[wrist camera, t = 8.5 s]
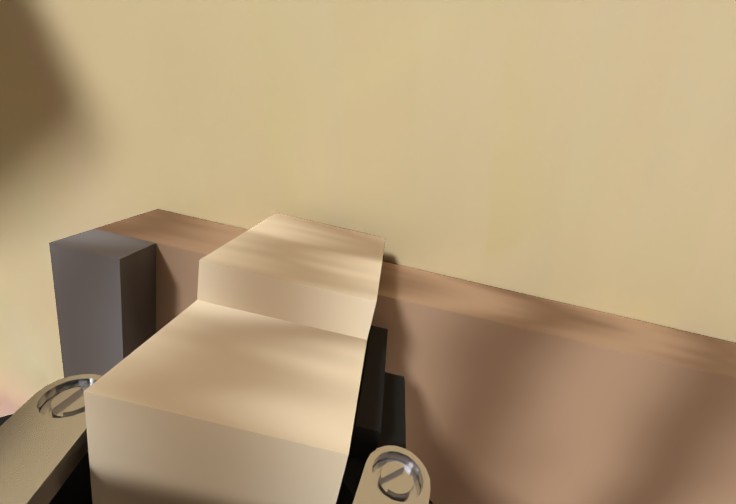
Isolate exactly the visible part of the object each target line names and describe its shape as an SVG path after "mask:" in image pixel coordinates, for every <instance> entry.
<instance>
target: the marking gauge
mask: <svg viewBox="0 0 736 504" xmlns="http://www.w3.org/2000/svg"><path fill="white" fill-rule="evenodd" d="M384 245H385V238H384V237H380V236H375V235H371V234H367V233H362V232H358V231H354V230H349V229H345V228H341V227H336V226H332V225H327V224H323V223H319V222H314V221H310V220H306V219H301V218H297V217H293V216H288V215H284V214H280V213H275V214H273V215H272V216H270V217H269V218H267V219H265V220H264V221H262V222H260V223H259V224H257V225H256V226H254V227H252V228H251V229H249V230H247V231H246V232H244V233H242V234H241V235H239V236H238V237H236V238H234V239H233V240H231V241H229V242H228V243H226V244H225V245H223V246H221V247H220V248H218V249H216V250H215V251H213V252H212V253H210V254H208V255H207V256H205V257H203V258H202V259H200V260H199V273H198V293H197V300H196V301H195V302H194V303H193V304H192V305H190V306H189V307H188V308H187V309H185V310H184V311H183V312H182V313H180V314H179V315H178V316H177V317H175V318H174V319H173V320H172V321H170V322H169V323H168V324H167V325H165V326H164V327H163V328H162V329H160V330H159V331H158V332H157V333H155V334H154V335H153V336H152V337H151V338H149V339H148V340H147V341H146V342H144V343H143V344H142V345H141V346H139V347H138V348H137V349H136V350H134V351H133V352H132V353H131V354H129V355H128V356H127V357H126V358H124V359H123V360H122V361H121V362H119V363H118V364H117V365H116V366H115V367H113V368H112V369H111V370H110V371H108V372H107V373H106V374H105V375H103V376H102V377H101V378H100V379H98V380H97V381H96V382H95V383H93V384H92V385H91V386H90V387H88V388H87V389H86V390H85V391H84V403H85V415H86V428H87V440H88V453H89V466H90V478H91V491H92V503H93V504H336V501H337V498H338V494H339V490H340V486H341V482H342V478H343V474H344V471H345V467H346V463H347V459H348V455H349V449H350V443H351V437H352V431H353V424H354V418H355V412H356V406H357V400H358V393H359V387H360V381H361V375H362V368H363V362H364V356H365V350H366V344H367V338H368V334H369V330H370V326H371V322H372V318H373V314H374V310H375V306H376V302H377V295H378V288H379V281H380V274H381V267H382V260H383V253H384Z"/></svg>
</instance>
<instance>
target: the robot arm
mask: <svg viewBox="0 0 736 504" xmlns="http://www.w3.org/2000/svg"><path fill="white" fill-rule="evenodd" d="M387 334H388V329H385V328H381V327H377V326H373V325H371V327H370V330H369V334H368V338H367V344H366V350H365V356H364V362H363V368H362V375H361V381H360V387H359V393H358V400H357V406H356V412H355V418H354V424H353V431H352V437H351V443H350V449H349V455H348V459H347V463H346V467H345V471H344V474H343V478H342V482H341V486H340V490H339V494H338V498H337V501H336V504H433V503H432V501H431V500H430V499H429V498H430V477H429V475H428V472H427V469H426V468H425V466H424V465H423V463H422V462H421V460H420V459H419V458H418V457H416V456H415V455H414V454H413V453H412V452H410V451H408V450H406V420H405V378H404V376H400V375H396V374H391V373H387V372H385V365H386V349H387ZM101 377H102V376H101V375H96V374H81V375H75V376H69V377H66V378H63V379H60V380H57V381H55V382H53V383H51V384H49V385H47V386H45V387H44V388H43V389H41V390H40V391H38V392H37V393H36V394H35V395H34V396H32V397H31V398H30V399H29V400H28V401H27V402H26V403H25V404H24V405H23V406H22V407H21V408H19V409H18V410H17V411H16V412H15V413H14V414H12V415H8V416H4V417H1V418H0V504H93V503H92V491H91V478H90V466H89V453H88V440H87V428H86V415H85V403H84V391H85V390H86V389H87V388H88V387H90V386H91V385H92V384H93V383H95V382H96V381H97V380H98V379H100V378H101Z"/></svg>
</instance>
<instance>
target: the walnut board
mask: <svg viewBox="0 0 736 504" xmlns="http://www.w3.org/2000/svg"><path fill="white" fill-rule="evenodd" d="M246 231H247V230H246V229H242V228H237V227H233V226H229V225H224V224H220V223H216V222H212V221H207V220H203V219H199V218H194V217H190V216H186V215H181V214H177V213H173V212H168V211H164V210H160V209H156V210H153V211H150V212H147V213H144V214H140V215H137V216H134V217H131V218H128V219H124V220H121V221H118V222H115V223H112V224H108V225H105V226H102V227H99V228H95V229H92V230H89V231H86V232H83V233H79V234H76V235H73V236H70V237H67V238H63V239H60V240H57V241H54V242H51V243H49V244H50V253H51V262H52V271H53V280H54V289H55V298H56V307H57V316H58V325H59V335H60V344H61V353H62V362H63V371H64V378H66V377H69V376H75V375H81V374H96V375H101V376H103V375H105V374H106V373H107V372H108V371H110V370H111V369H112V368H113V367H115V366H116V365H117V364H118V363H119V362H121V361H122V360H123V359H124V358H126V357H127V356H128V355H129V354H131V353H132V352H133V351H134V350H136V349H137V348H138V347H139V346H141V345H142V344H143V343H144V342H146V341H147V340H148V339H149V338H151V337H152V336H153V335H154V334H155V333H157V332H158V331H159V330H160V329H162V328H163V327H164V326H165V325H167V324H168V323H169V322H170V321H172V320H173V319H174V318H175V317H177V316H178V315H179V314H180V313H182V312H183V311H184V310H185V309H187V308H188V307H189V306H190V305H192V304H193V303H194V302H195V301H196V300H197V293H198V273H199V260H200V259H202V258H203V257H205V256H207V255H208V254H210V253H212V252H213V251H215V250H216V249H218V248H220V247H221V246H223V245H225V244H226V243H228V242H229V241H231V240H233V239H234V238H236V237H238V236H239V235H241V234H242V233H244V232H246ZM371 325H373V326H377V327H381V328H385V329H388V334H387V349H386V365H385V372H387V373H391V374H396V375H400V376H404V378H405V420H406V450H408V451H410V452H412V453H413V454H414V455H415V456H416V457H418V458H419V459H420V460H421V462H422V463H423V465H424V466H425V468H426V469H427V472H428V475H429V477H430V498H429V499H430V500H431V501H432V503H433V504H736V343H734V342H730V341H725V340H721V339H717V338H712V337H708V336H704V335H700V334H695V333H691V332H687V331H682V330H678V329H674V328H669V327H665V326H661V325H656V324H652V323H648V322H643V321H639V320H635V319H630V318H626V317H622V316H617V315H613V314H609V313H605V312H600V311H596V310H592V309H587V308H583V307H579V306H574V305H570V304H566V303H561V302H557V301H553V300H548V299H544V298H540V297H535V296H531V295H527V294H522V293H518V292H514V291H510V290H505V289H501V288H497V287H492V286H488V285H484V284H479V283H475V282H471V281H466V280H462V279H458V278H453V277H449V276H445V275H440V274H436V273H432V272H427V271H423V270H419V269H414V268H410V267H406V266H402V265H397V264H393V263H389V262H384V261H382V267H381V274H380V281H379V288H378V295H377V302H376V306H375V310H374V314H373V318H372V322H371ZM370 327H371V326H370Z"/></svg>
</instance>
